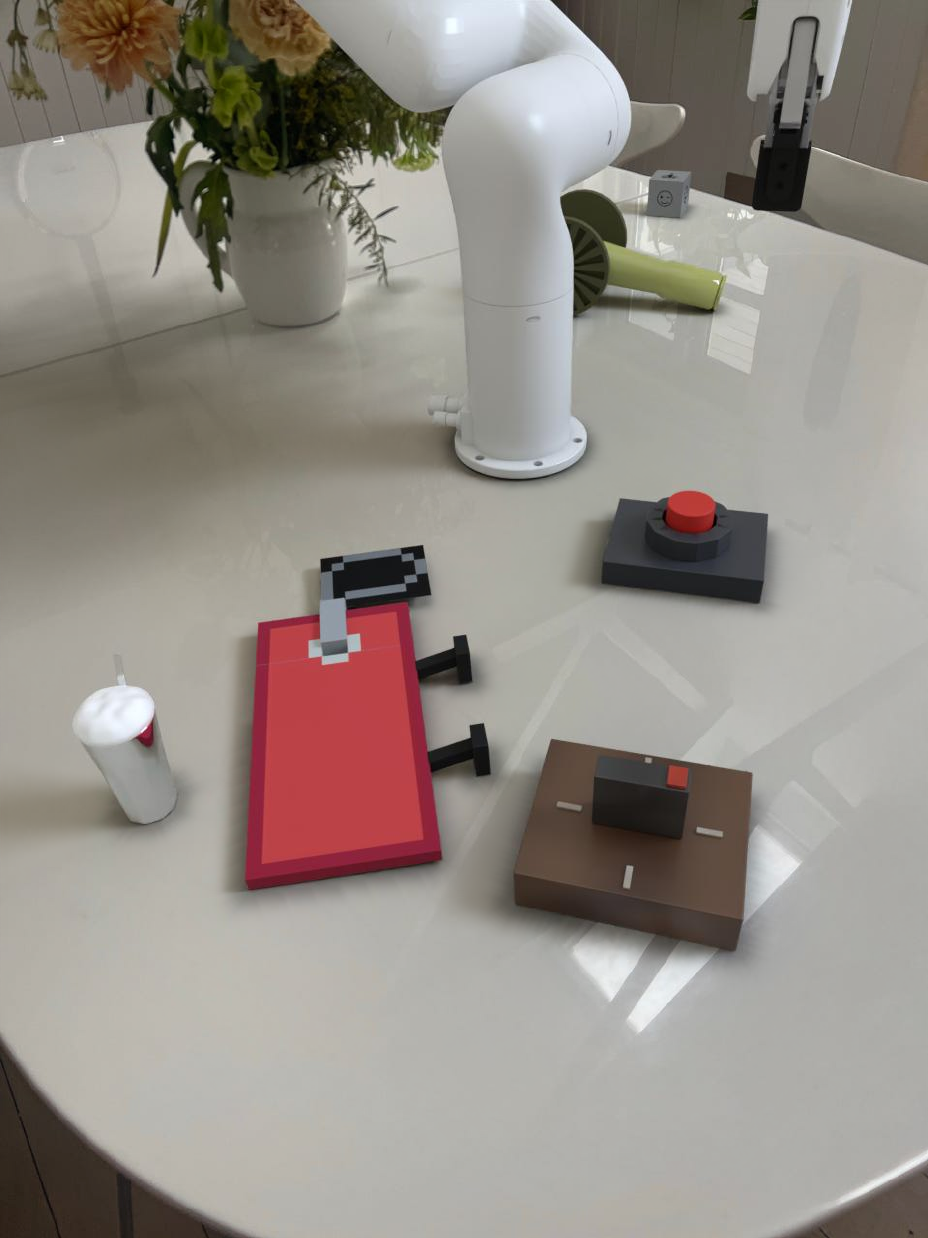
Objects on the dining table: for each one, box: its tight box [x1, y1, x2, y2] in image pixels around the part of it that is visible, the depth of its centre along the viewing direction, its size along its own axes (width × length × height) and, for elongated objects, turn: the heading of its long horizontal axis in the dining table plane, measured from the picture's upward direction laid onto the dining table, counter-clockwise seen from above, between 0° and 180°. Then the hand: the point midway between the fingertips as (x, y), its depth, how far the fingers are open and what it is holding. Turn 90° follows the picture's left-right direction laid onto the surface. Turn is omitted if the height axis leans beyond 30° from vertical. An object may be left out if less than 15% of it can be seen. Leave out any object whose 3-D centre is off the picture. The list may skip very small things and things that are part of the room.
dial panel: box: [513, 738, 754, 952], centre depth 54 cm, size 12×10×3 cm
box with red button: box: [592, 755, 692, 839], centre depth 51 cm, size 5×2×4 cm, turn 75°
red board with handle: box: [244, 544, 492, 891], centre depth 65 cm, size 30×3×15 cm
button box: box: [600, 496, 769, 604], centre depth 75 cm, size 12×9×4 cm
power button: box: [666, 490, 716, 534], centre depth 73 cm, size 4×4×2 cm
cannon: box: [560, 188, 728, 316], centre depth 112 cm, size 25×12×11 cm, turn 71°
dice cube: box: [646, 169, 692, 219], centre depth 139 cm, size 5×5×5 cm
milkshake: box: [71, 653, 178, 825], centre depth 57 cm, size 4×5×10 cm
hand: (776, 206), depth 64 cm, fingers closed
